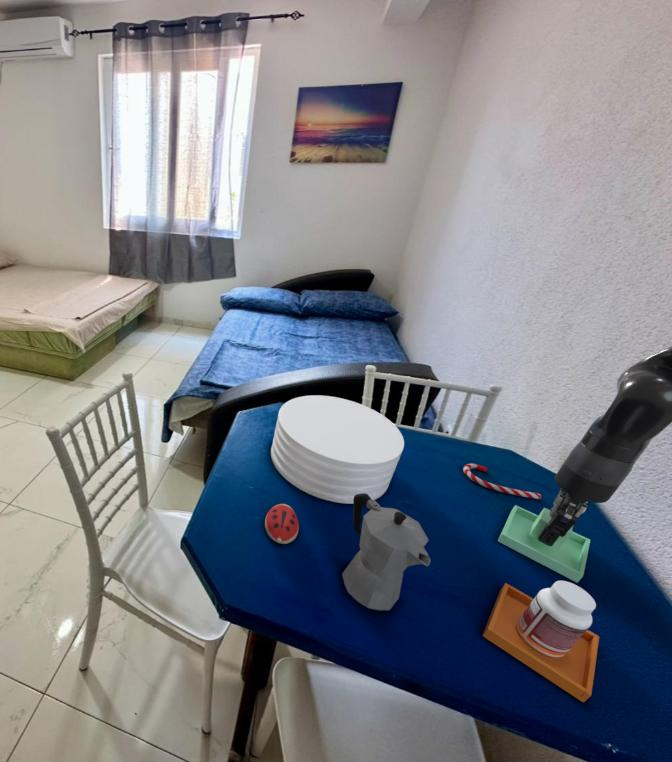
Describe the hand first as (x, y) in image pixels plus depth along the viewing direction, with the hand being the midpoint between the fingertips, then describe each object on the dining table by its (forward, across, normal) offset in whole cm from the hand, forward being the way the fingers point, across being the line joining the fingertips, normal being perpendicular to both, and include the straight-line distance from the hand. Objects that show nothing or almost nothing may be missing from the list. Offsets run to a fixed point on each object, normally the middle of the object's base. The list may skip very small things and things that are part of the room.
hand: (546, 535), depth 81 cm
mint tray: (+3, 0, 0) cm, 3 cm away
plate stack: (+3, -10, +41) cm, 42 cm away
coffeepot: (+3, -36, +20) cm, 41 cm away
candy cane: (+3, +15, +10) cm, 18 cm away
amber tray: (+3, -25, -3) cm, 25 cm away
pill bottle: (+2, -25, -3) cm, 25 cm away
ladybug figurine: (+3, -37, +37) cm, 52 cm away
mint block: (0, 0, 0) cm, 0 cm away
